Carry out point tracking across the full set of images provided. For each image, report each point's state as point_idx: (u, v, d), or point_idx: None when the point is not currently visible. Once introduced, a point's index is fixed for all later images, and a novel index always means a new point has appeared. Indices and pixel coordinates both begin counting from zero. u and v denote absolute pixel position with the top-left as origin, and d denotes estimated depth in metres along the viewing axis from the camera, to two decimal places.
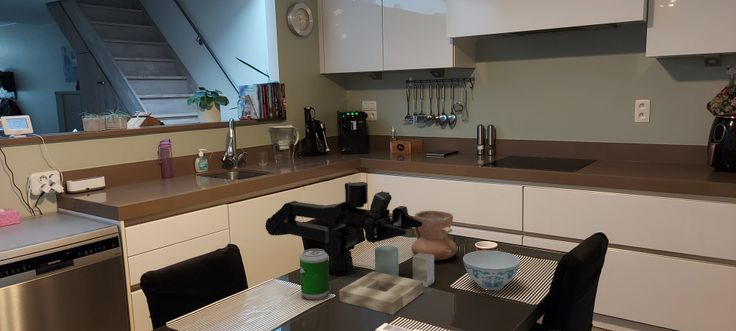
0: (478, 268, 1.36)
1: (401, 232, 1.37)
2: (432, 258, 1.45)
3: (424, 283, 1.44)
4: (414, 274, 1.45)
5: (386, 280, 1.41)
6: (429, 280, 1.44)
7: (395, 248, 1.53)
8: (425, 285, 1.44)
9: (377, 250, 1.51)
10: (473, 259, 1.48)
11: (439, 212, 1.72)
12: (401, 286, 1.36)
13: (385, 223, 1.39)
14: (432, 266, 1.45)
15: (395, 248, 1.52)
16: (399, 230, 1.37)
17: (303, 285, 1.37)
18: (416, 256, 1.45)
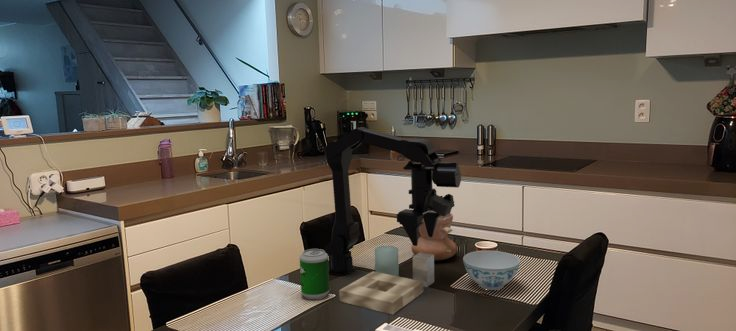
0: (478, 268, 1.36)
1: (414, 242, 1.40)
2: (432, 258, 1.45)
3: (424, 283, 1.44)
4: (414, 274, 1.45)
5: (386, 280, 1.41)
6: (429, 280, 1.44)
7: (395, 248, 1.53)
8: (425, 285, 1.44)
9: (377, 250, 1.51)
10: (473, 259, 1.48)
11: None
12: (401, 286, 1.36)
13: (418, 227, 1.38)
14: (432, 266, 1.45)
15: (395, 248, 1.52)
16: (415, 240, 1.40)
17: (303, 285, 1.37)
18: (416, 256, 1.45)
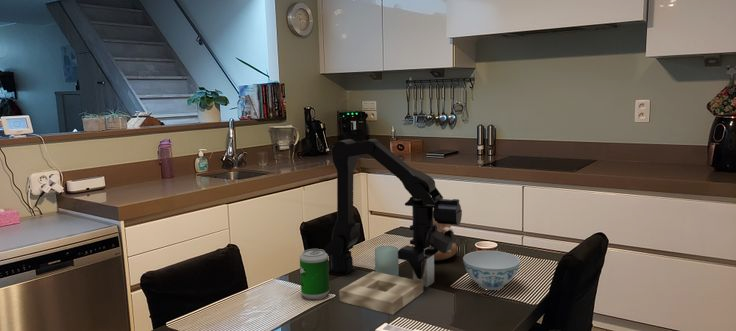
0: (478, 268, 1.36)
1: (418, 275, 1.44)
2: (432, 258, 1.45)
3: (424, 283, 1.44)
4: (414, 274, 1.45)
5: (386, 280, 1.41)
6: (429, 280, 1.44)
7: (395, 248, 1.53)
8: (425, 285, 1.44)
9: (377, 250, 1.51)
10: (473, 259, 1.48)
11: None
12: (401, 286, 1.36)
13: (423, 261, 1.41)
14: (432, 266, 1.45)
15: (395, 248, 1.52)
16: (419, 274, 1.43)
17: (303, 285, 1.37)
18: None
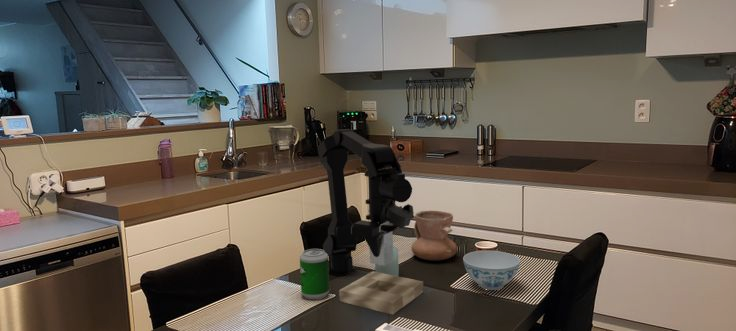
0: (478, 268, 1.36)
1: (374, 253, 1.33)
2: (390, 235, 1.35)
3: (381, 261, 1.33)
4: (371, 252, 1.35)
5: (386, 280, 1.41)
6: (386, 258, 1.34)
7: (395, 248, 1.53)
8: (382, 263, 1.33)
9: None
10: (473, 259, 1.48)
11: (439, 212, 1.72)
12: (401, 286, 1.36)
13: (379, 237, 1.31)
14: (390, 243, 1.35)
15: (395, 248, 1.52)
16: (376, 251, 1.33)
17: (303, 285, 1.37)
18: None
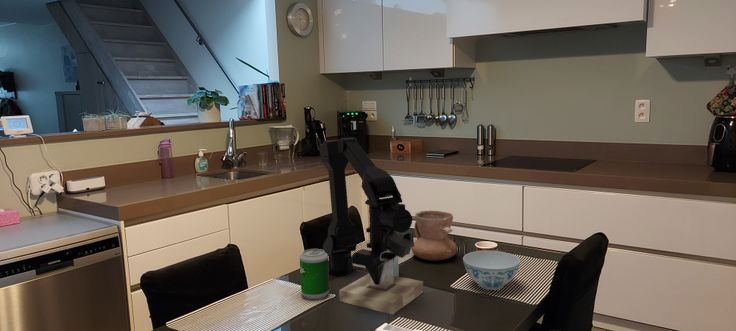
0: (478, 268, 1.36)
1: (375, 281, 1.34)
2: (391, 262, 1.36)
3: (382, 289, 1.35)
4: (371, 279, 1.36)
5: None
6: (387, 286, 1.35)
7: None
8: None
9: None
10: (473, 259, 1.48)
11: (439, 212, 1.72)
12: (401, 286, 1.36)
13: (379, 266, 1.32)
14: (391, 271, 1.36)
15: None
16: (376, 279, 1.34)
17: (303, 285, 1.37)
18: None
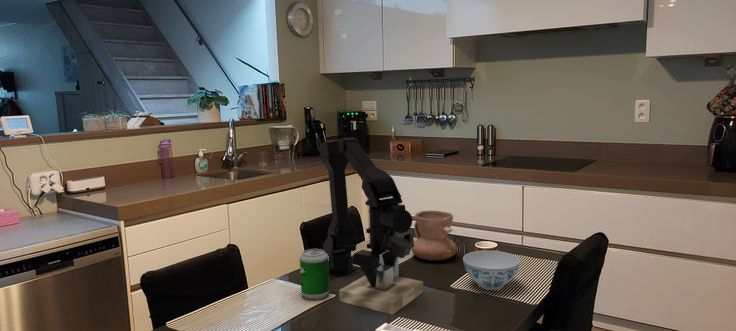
0: (478, 268, 1.36)
1: (372, 283, 1.33)
2: (391, 270, 1.36)
3: None
4: (372, 287, 1.36)
5: None
6: None
7: None
8: None
9: None
10: (473, 259, 1.48)
11: (439, 212, 1.72)
12: (401, 286, 1.36)
13: (376, 268, 1.31)
14: (391, 279, 1.37)
15: None
16: (373, 282, 1.33)
17: (303, 285, 1.37)
18: None
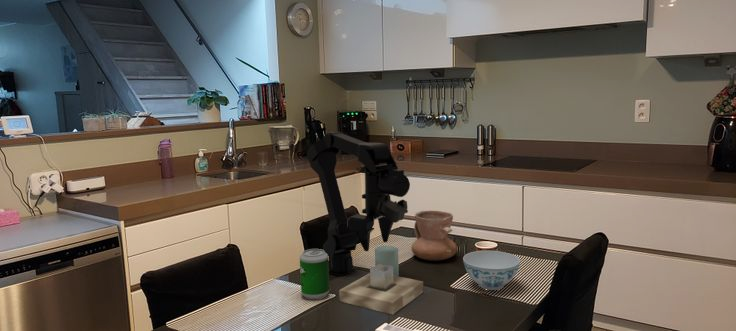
0: (478, 268, 1.36)
1: (365, 247, 1.38)
2: (391, 270, 1.36)
3: None
4: (372, 287, 1.36)
5: None
6: None
7: (395, 248, 1.53)
8: None
9: (377, 250, 1.51)
10: (473, 259, 1.48)
11: (439, 212, 1.72)
12: (401, 286, 1.36)
13: (369, 233, 1.36)
14: (391, 279, 1.37)
15: (395, 248, 1.52)
16: (366, 246, 1.38)
17: (303, 285, 1.37)
18: (374, 268, 1.36)
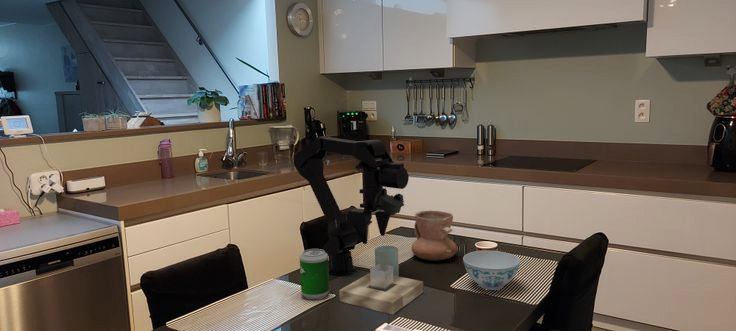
0: (478, 268, 1.36)
1: (363, 240, 1.43)
2: (391, 270, 1.36)
3: None
4: (372, 287, 1.36)
5: None
6: None
7: (395, 248, 1.53)
8: None
9: (377, 250, 1.51)
10: (473, 259, 1.48)
11: (439, 212, 1.72)
12: (401, 286, 1.36)
13: (367, 226, 1.41)
14: (391, 279, 1.37)
15: (395, 248, 1.52)
16: (364, 239, 1.43)
17: (303, 285, 1.37)
18: (374, 268, 1.36)
